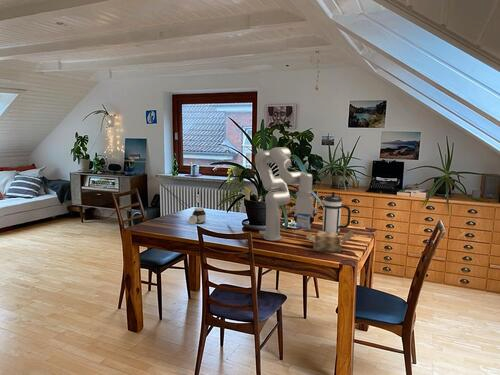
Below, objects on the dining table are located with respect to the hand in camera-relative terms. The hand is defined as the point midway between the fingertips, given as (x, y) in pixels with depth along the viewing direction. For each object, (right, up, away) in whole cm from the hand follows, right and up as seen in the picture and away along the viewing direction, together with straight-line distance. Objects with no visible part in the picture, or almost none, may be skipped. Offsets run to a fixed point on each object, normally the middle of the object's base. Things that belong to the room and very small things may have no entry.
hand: (303, 223), depth 211 cm
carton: (+14, -16, +12) cm, 25 cm away
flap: (+25, -12, +9) cm, 29 cm away
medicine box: (0, -3, +1) cm, 3 cm away
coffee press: (+27, -12, +43) cm, 52 cm away
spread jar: (-72, -7, +60) cm, 94 cm away
